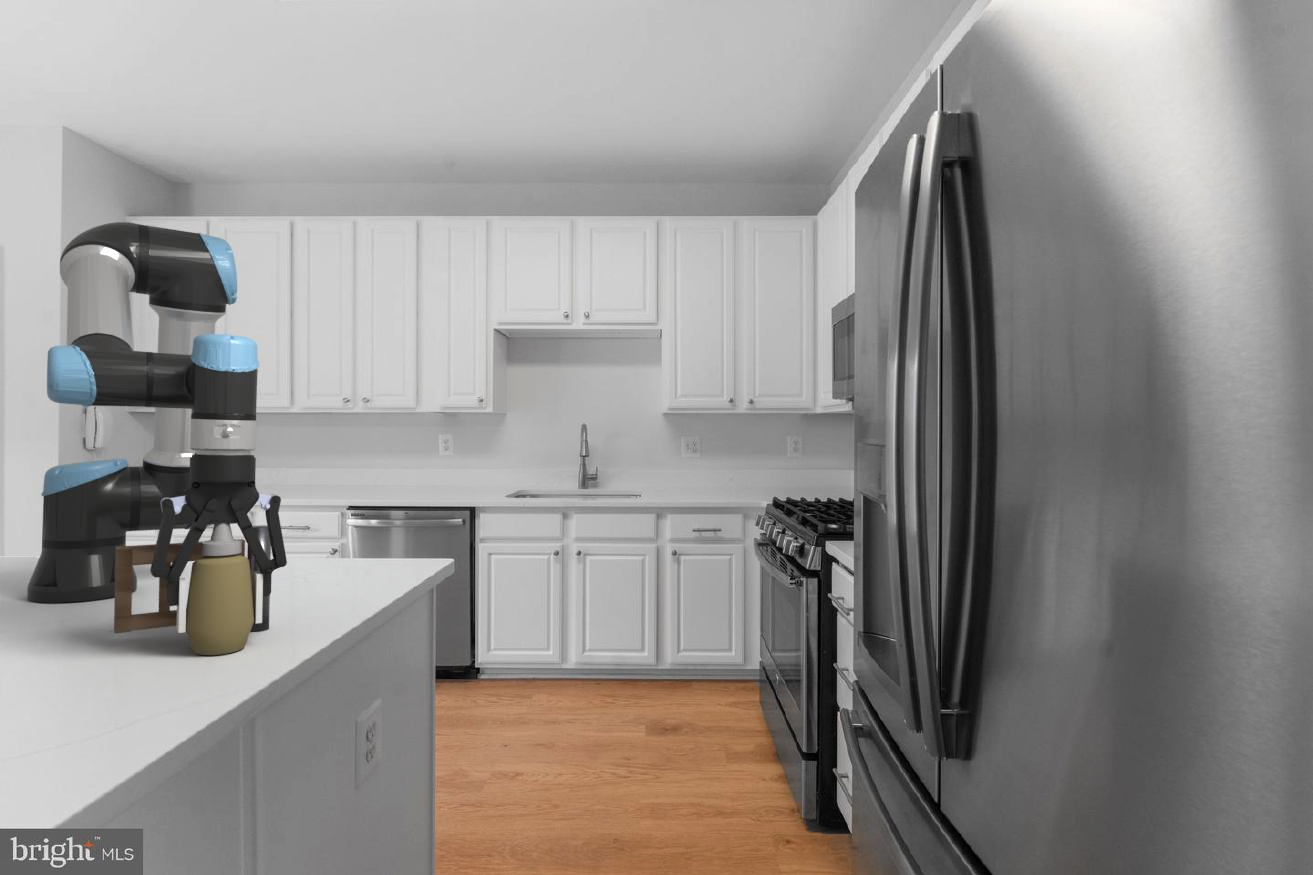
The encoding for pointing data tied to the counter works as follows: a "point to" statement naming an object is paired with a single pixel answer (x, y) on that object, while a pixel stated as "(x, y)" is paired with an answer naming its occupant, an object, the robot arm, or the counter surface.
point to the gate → (123, 587)
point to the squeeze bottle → (220, 596)
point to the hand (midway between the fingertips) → (220, 625)
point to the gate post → (265, 542)
